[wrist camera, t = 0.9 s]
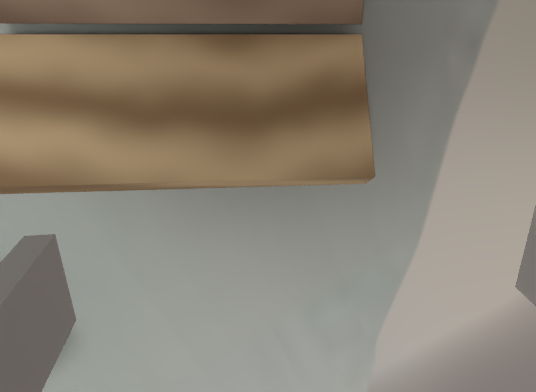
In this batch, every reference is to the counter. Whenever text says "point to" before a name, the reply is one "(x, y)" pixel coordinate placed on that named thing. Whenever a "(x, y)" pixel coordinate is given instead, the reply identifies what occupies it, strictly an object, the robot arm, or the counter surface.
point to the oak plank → (182, 111)
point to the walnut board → (182, 11)
